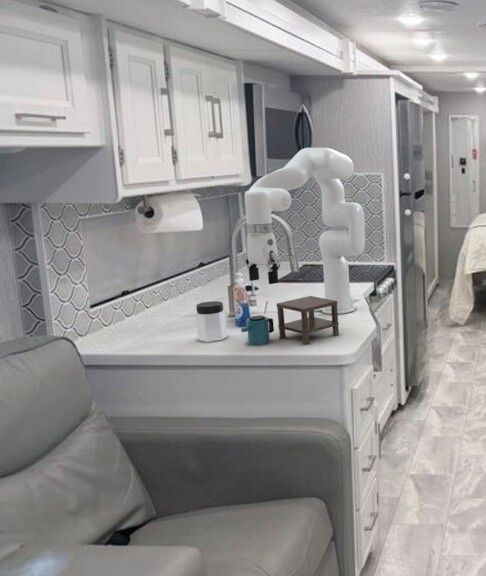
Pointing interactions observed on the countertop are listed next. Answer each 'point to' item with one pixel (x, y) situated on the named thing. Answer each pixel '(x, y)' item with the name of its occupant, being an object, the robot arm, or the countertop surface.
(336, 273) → the robot arm
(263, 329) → the kettle
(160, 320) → the countertop surface
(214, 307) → the jar
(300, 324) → the stand
